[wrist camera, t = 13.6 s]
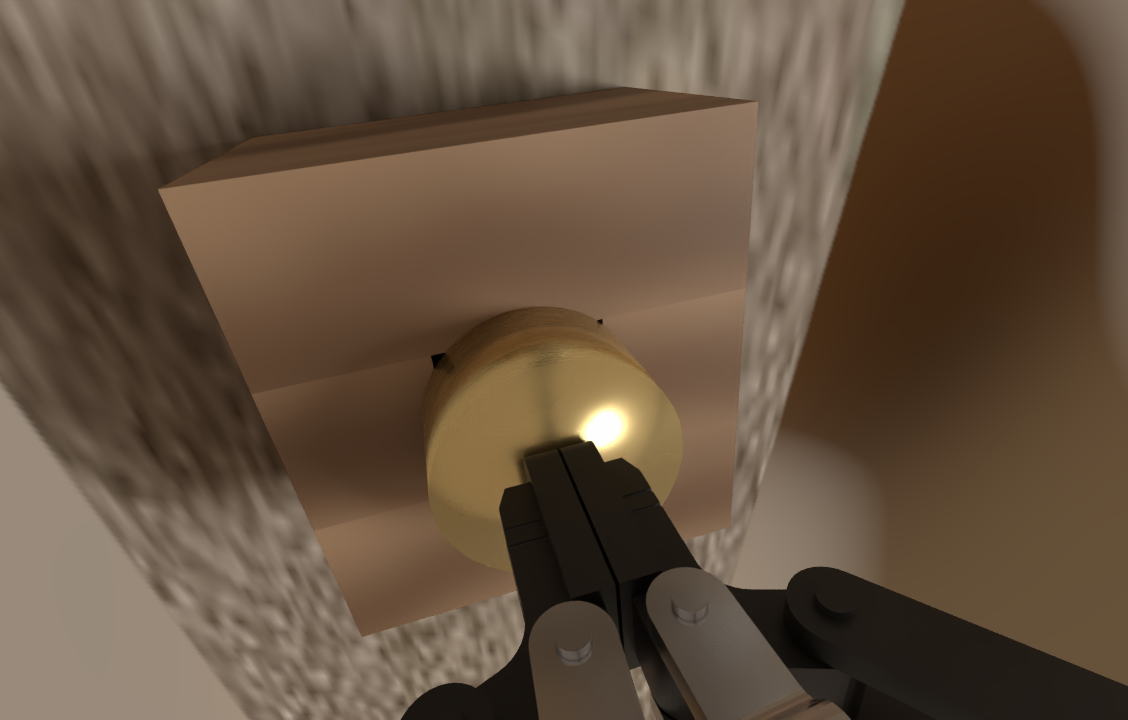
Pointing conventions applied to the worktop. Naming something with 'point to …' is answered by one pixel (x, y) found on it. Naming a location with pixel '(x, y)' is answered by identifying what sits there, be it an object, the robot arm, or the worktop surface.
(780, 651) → the robot arm
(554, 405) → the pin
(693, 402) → the block
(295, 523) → the worktop surface
